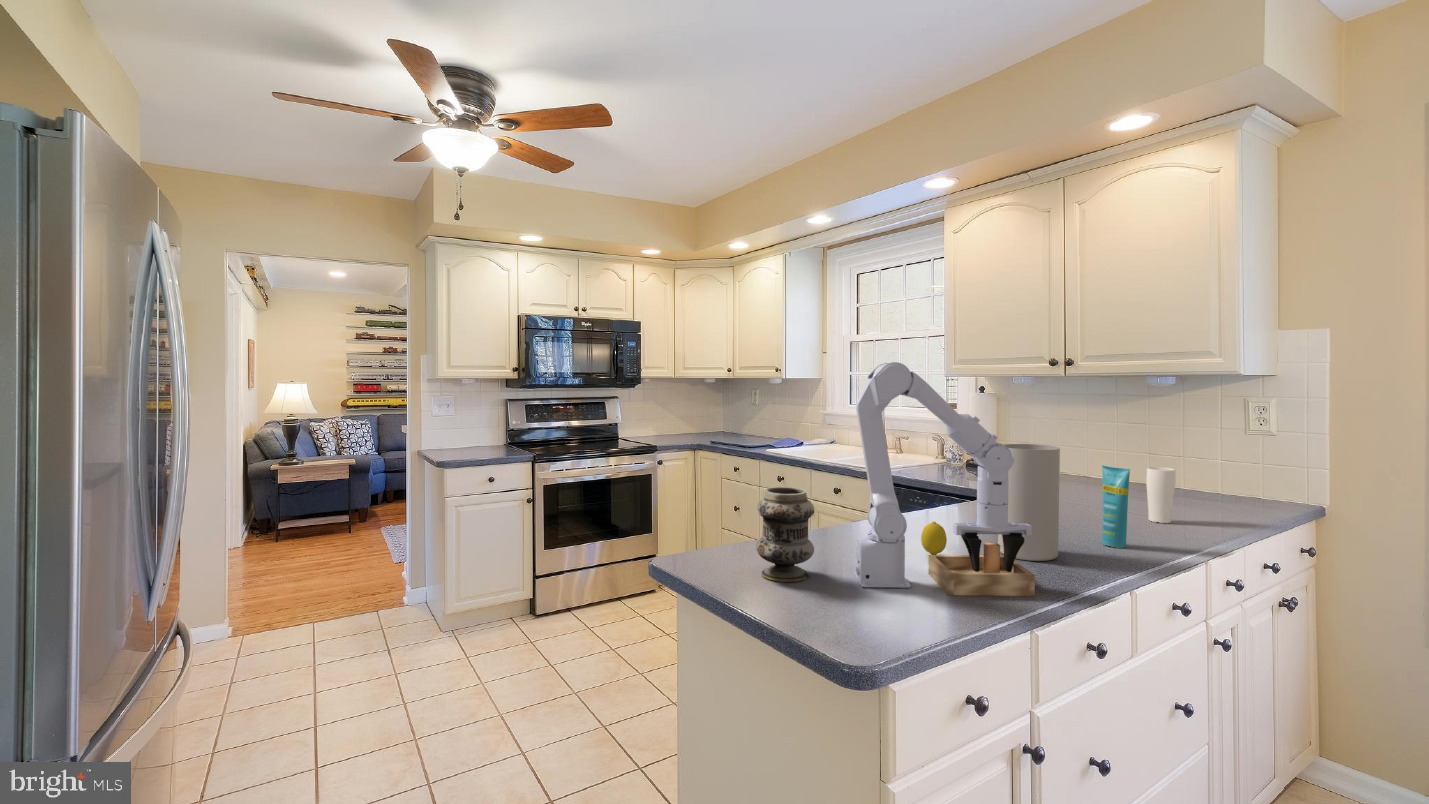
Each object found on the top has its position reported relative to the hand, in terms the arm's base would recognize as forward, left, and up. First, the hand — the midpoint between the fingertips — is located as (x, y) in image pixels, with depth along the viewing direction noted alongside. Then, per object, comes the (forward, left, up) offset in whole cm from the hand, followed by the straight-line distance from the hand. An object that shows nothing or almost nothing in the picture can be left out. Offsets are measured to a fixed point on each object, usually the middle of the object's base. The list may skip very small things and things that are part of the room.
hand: (991, 570), depth 128 cm
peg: (0, 0, -3) cm, 3 cm away
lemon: (-6, +20, -3) cm, 21 cm away
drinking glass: (+68, +56, -3) cm, 88 cm away
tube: (+40, +30, -3) cm, 50 cm away
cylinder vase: (+16, +22, -3) cm, 28 cm away
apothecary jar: (-40, +5, -3) cm, 41 cm away
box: (-2, 0, -3) cm, 4 cm away
